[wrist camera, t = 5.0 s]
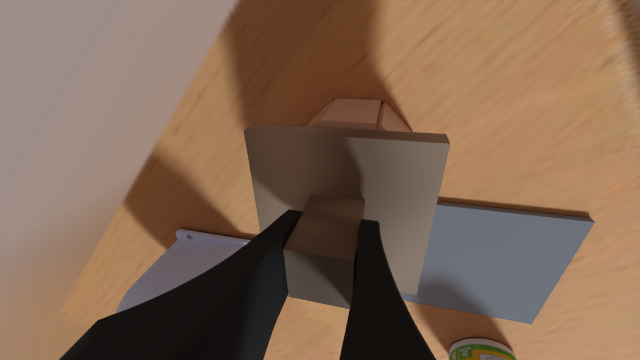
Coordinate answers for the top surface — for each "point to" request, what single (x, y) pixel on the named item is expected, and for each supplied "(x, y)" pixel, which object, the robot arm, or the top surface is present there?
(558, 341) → the top surface
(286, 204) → the lid
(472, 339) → the supplement bottle
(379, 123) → the bowl
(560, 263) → the mat
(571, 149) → the top surface
